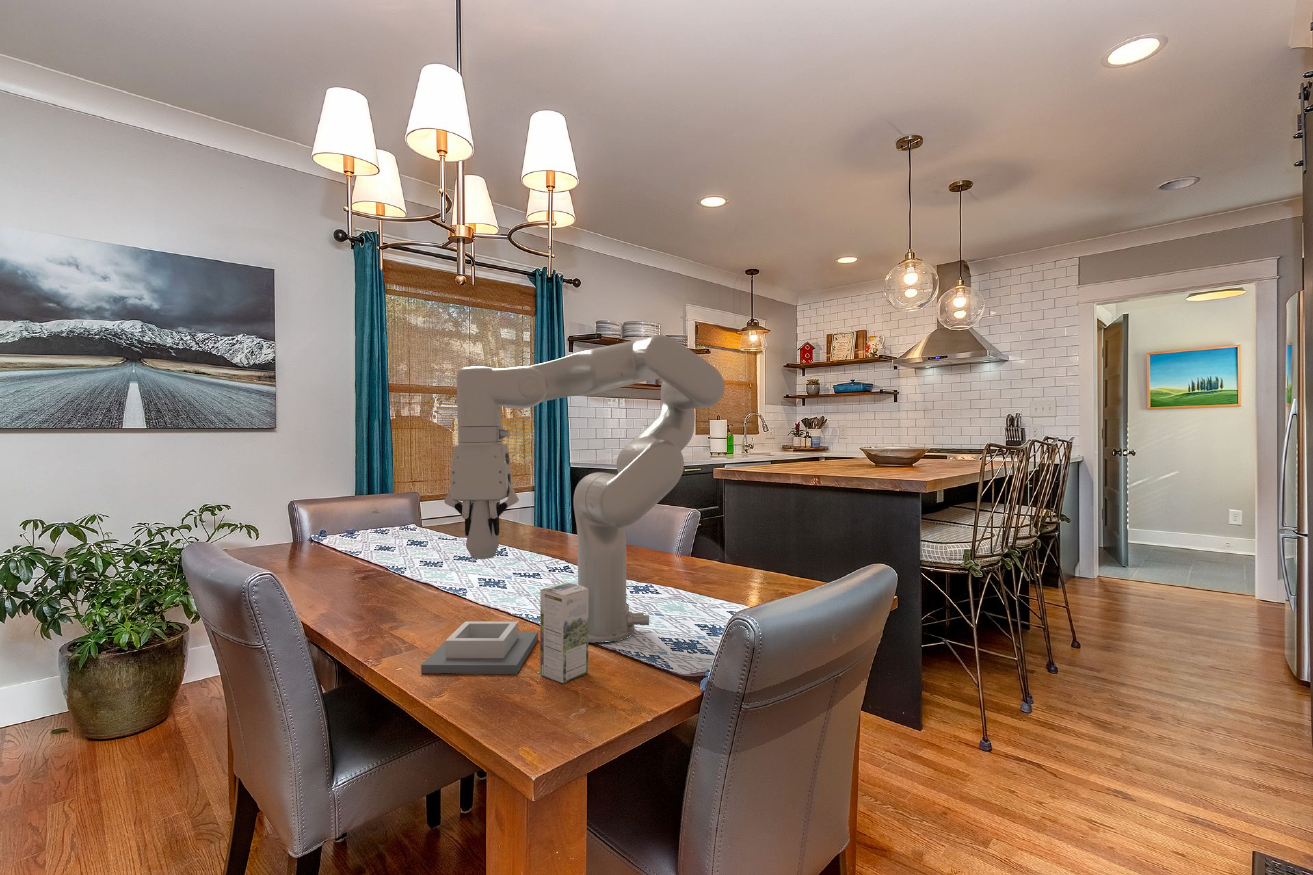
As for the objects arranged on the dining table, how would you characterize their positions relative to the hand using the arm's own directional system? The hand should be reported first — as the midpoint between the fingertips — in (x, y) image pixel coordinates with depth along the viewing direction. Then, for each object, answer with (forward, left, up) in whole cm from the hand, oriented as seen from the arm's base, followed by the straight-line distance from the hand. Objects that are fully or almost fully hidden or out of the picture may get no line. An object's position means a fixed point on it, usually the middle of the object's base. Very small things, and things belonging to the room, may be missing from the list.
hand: (482, 538), depth 109 cm
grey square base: (0, 0, -21) cm, 21 cm away
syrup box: (-16, +8, -21) cm, 28 cm away
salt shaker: (0, 0, -3) cm, 3 cm away
